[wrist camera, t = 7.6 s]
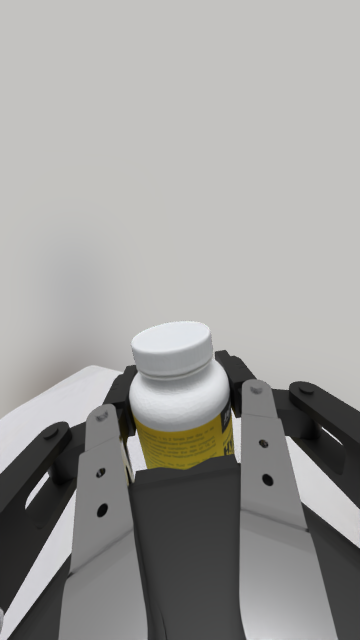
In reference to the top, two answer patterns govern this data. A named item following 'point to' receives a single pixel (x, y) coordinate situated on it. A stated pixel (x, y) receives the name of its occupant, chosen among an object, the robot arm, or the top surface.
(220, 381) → the supplement bottle
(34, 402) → the top surface
